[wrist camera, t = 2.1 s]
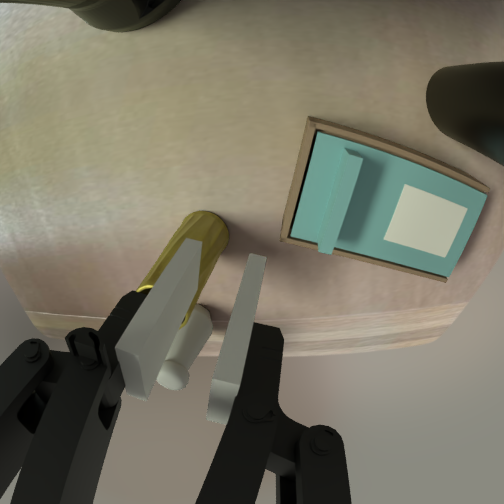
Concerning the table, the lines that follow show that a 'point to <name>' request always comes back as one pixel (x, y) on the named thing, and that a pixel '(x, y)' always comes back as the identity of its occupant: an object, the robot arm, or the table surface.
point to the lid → (384, 206)
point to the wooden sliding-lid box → (375, 142)
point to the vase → (213, 243)
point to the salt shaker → (185, 349)
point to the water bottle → (470, 106)
